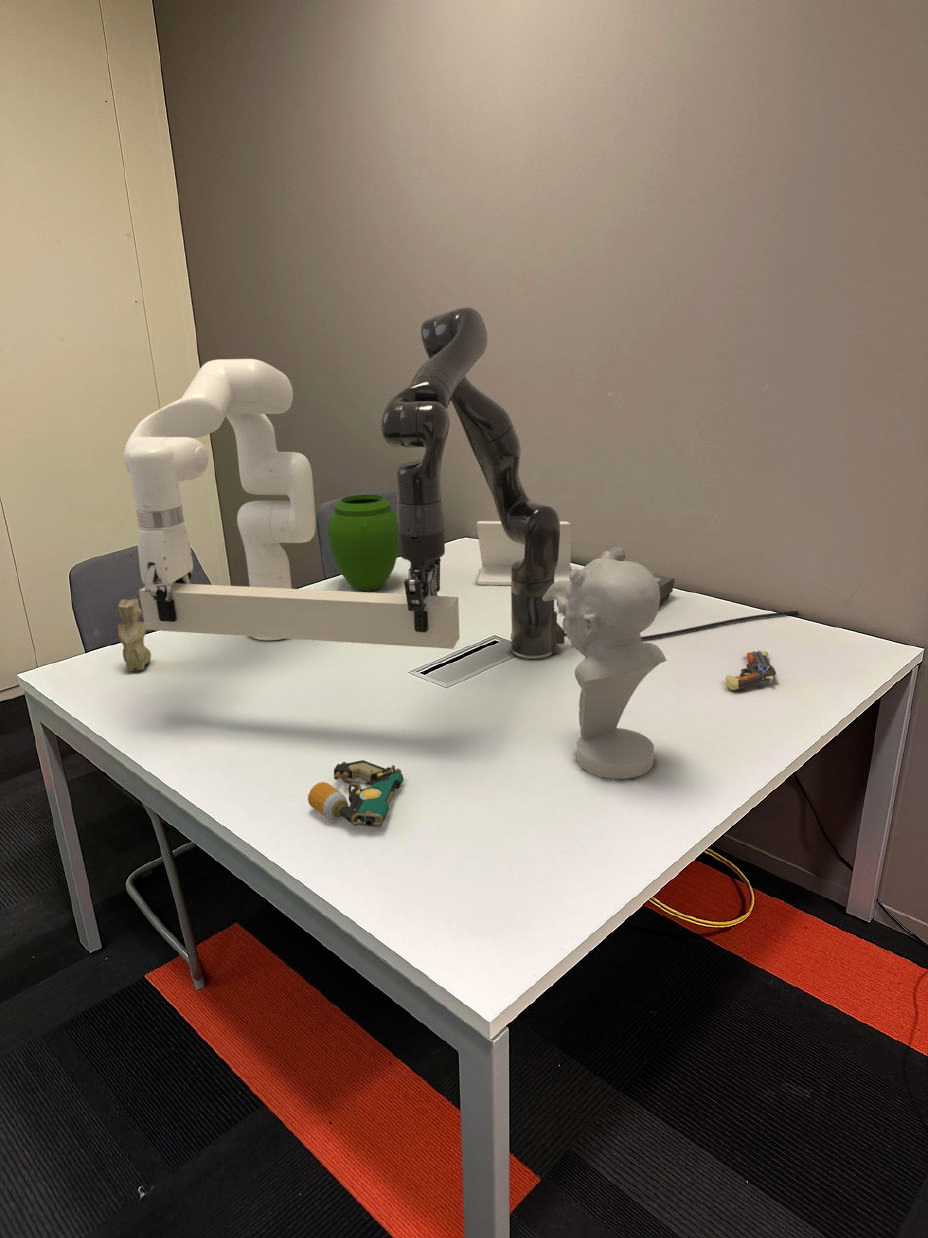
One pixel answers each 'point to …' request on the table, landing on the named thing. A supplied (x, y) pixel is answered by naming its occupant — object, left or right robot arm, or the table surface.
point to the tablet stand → (513, 553)
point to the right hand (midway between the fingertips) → (425, 625)
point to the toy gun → (753, 671)
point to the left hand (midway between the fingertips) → (176, 614)
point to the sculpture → (132, 635)
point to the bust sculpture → (610, 658)
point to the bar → (305, 615)
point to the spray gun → (358, 793)
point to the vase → (364, 540)
